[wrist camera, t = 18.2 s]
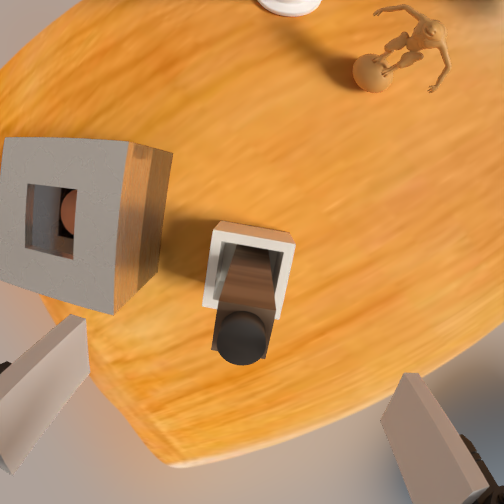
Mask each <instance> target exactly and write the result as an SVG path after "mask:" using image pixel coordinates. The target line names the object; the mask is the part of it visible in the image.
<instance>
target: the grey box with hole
mask: <svg viewBox="0 0 504 504" xmlns="http://www.w3.org/2000/svg"><path fill="white" fill-rule="evenodd" d="M172 157H173V153H170V152H167V151H163V150H159V149H156V148H152V147H148V146H144V145H140V144H136V143H132V142H127V141H114V140H99V139H81V138H50V137H7V138H5V141H4V148H3V155H2V164H1V174H0V280H1V281H4V282H7V283H10V284H12V285H15V286H18V287H21V288H24V289H27V290H30V291H33V292H36V293H39V294H42V295H45V296H48V297H51V298H55V299H58V300H61V301H64V302H68V303H71V304H74V305H78V306H81V307H85V308H88V309H92V310H95V311H99V312H103V313H107V314H110V315H114V314H115V313H116V312H117V311H118V310H119V309H120V308H121V307H122V306H123V305H124V304H125V303H126V302H127V301H128V300H129V299H130V298H131V297H132V296H133V295H134V294H135V293H137V292H138V291H139V290H140V289H141V288H142V287H143V286H144V285H145V284H146V283H147V282H148V281H149V280H150V279H151V278H152V277H153V276H154V275H155V274H156V273H157V272H158V262H159V252H160V243H161V234H162V226H163V218H164V210H165V203H166V196H167V189H168V182H169V176H170V169H171V163H172ZM73 190H77V200H76V212H75V227H74V235H73V234H71V233H70V232H69V231H68V230H67V229H66V228H65V226H64V224H63V222H62V219H61V206H62V202H63V200H64V198H65V197H66V195H67V194H68V193H70V192H71V191H73Z"/></svg>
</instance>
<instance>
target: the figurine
mask: <svg viewBox="0 0 504 504" xmlns="http://www.w3.org/2000/svg"><path fill="white" fill-rule="evenodd" d="M398 10H406V11H407V12H408V13H409V14H411V15H412V16H413V17H415V18H416V19H417V20H418V21H419V23H418V24H417V26H416V27H415V28H414V32H413V34H412V36H411V37H409V35H408V33H407V32H402V33H401V35H400V36H399V37H397V38H395V39H393V40H391V41H390V42H389V43H388V44H386V45H385V47H384V49H385V51H386V52H385V53H383V54H381V55H380V56H379V55H376V54H366V55H363V56H361V57H359V58H358V59H357V60H356V61H355V63H354V65H353V69H352V73H353V78H354V80H355V82H356V83H357V85H358V86H359V87H360V88H362V89H363V90H365V91H367V92H371V93H379V92H383V91H385V90H386V89H387V88H388V87H389V86H390V85H391V83H392V81H393V71H395V70H397V69H398V68H400V69H402V68H405V67H408V66H410V65H412V64H413V63H414V62H416V61H419V60H422V59H423V57H424V56H423V54H422V53H421V52H420V50H422V49H431V48H438V49H439V50H440V53H441V56H442V58H443V61H444V64H445V68H444V69H443V71H442V73H441V75H440V76H439V77H438V79H437V82H436V85H434V86H429V87H432V88H431V89H429V90H427V91H430V90H431V91H430V92H429V93H432V92H434V91H436V90H437V89H438V88H439V86H440V84H441V83H442V82H443V80H444V79H445V77H446V75H447V74H448V73H449V72H450V71H451V61H450V57H449V54H448V47H447V43H446V38H447V29H446V27H445V26H444V25H443V24H442V23H441V22H440V21H437V20H432V19H429V18H428V17H427V16H425V15H423V14H421V13H419V12H418V11H416V10H415V9H413V8H412V7H410V6H408V5H405V4H402V5H398V6H391V7H385V8H381V9H379V10H377V11H376V12H375V13H373V15H374V16H375V15H377V14H378V13H379V14H378V15H377V16H379V15H380V13H381V12H383V11H384V12H392V11H398ZM405 45H406V46H407V49H408V50H410V52H407V53H404V54H403V55H402V57H401V60H400V61H399V62H397V64H395V65H393V66H390V64H389V63H388V62H387V60H385V58H387V57H388V56H389V55H391V54H392V53H393V52H394V50H400V49H402V48H403V47H404V46H405Z"/></svg>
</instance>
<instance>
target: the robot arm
mask: <svg viewBox="0 0 504 504" xmlns="http://www.w3.org/2000/svg"><path fill="white" fill-rule="evenodd" d="M89 373H90V366H89V356H88V345H87V331H86V319H85V318H81V317H78V316H75V315H72V314H70V315H69V316H68V317H67V318H65V319H64V320H63V321H62V322H60V323H59V324H58V325H57V326H56V327H55V328H53V329H52V330H51V331H50V332H49V333H47V334H46V335H45V336H44V337H43V338H41V339H40V340H39V341H38V342H36V343H35V344H34V345H33V346H32V347H31V348H30V349H28V350H27V351H26V352H25V353H24V354H23V355H21V356H20V357H19V358H18V359H17V360H16V361H15V362H14V363H9V362H5V363H2V364H0V468H1V469H3V470H4V471H6V472H7V473H9V474H11V475H12V476H13V475H14V474H15V472H16V471H17V470H18V468H19V467H20V465H21V464H22V462H23V461H24V459H25V458H26V457H27V455H28V454H29V453H30V451H31V450H32V448H33V447H34V445H35V444H36V443H37V441H38V440H39V439H40V437H41V436H42V435H43V433H44V432H45V430H46V429H47V428H48V427H49V425H50V424H51V423H52V421H53V420H54V419H55V417H56V416H57V415H58V413H59V412H60V411H61V409H62V408H63V407H64V405H65V404H66V403H67V401H68V400H69V399H70V397H71V396H72V395H73V394H74V392H75V391H76V390H77V389H78V387H79V386H80V385H81V383H82V382H83V381H84V380H85V378H86V377H87V376H88V375H89ZM380 421H381V424H382V426H383V429H384V431H385V434H386V436H387V438H388V441H389V443H390V445H391V448H392V451H393V453H394V456H395V458H396V461H397V463H398V466H399V469H400V471H401V474H402V476H403V479H404V481H405V484H406V487H407V489H408V492H409V495H410V497H411V500H412V503H413V504H504V486H498V485H497V483H496V482H495V480H494V478H493V477H492V475H491V473H490V472H489V470H488V468H487V467H486V465H485V463H484V462H483V460H481V457H480V455H479V454H478V453H477V450H476V449H475V447H474V446H473V444H472V443H471V441H469V440H468V439H467V438H466V437H465V436H464V435H462V434H461V435H459V434H458V432H457V431H456V429H455V428H454V426H453V425H452V423H451V422H450V420H449V419H448V417H447V415H446V414H445V412H444V411H443V409H442V408H441V406H440V405H439V403H438V402H437V400H436V399H435V397H434V396H433V394H432V393H431V391H430V390H429V388H428V387H427V385H426V384H425V382H424V381H423V380H422V378H421V377H420V375H419V374H418V373H403V375H402V378H401V380H400V382H399V384H398V386H397V388H396V390H395V392H394V394H393V396H392V398H391V400H390V402H389V404H388V406H387V408H386V410H385V412H384V414H383V416H382V418H381V420H380Z"/></svg>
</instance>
